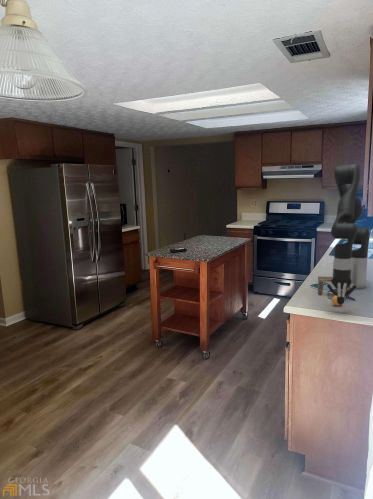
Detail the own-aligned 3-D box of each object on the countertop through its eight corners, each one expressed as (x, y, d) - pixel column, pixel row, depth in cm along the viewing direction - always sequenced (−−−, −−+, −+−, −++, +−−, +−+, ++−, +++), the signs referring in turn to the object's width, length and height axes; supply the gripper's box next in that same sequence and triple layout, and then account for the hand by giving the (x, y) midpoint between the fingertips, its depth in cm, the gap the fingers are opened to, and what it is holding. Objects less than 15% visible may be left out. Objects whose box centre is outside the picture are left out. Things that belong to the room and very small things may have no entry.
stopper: (317, 280, 217) (318, 276, 216) (333, 280, 215) (334, 276, 214) (318, 281, 215) (318, 277, 215) (334, 281, 213) (334, 277, 212)
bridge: (318, 293, 193) (318, 277, 192) (346, 294, 190) (346, 278, 188) (318, 295, 190) (319, 279, 189) (347, 296, 187) (348, 280, 185)
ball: (330, 303, 178) (331, 293, 177) (341, 303, 177) (342, 294, 176) (332, 306, 173) (332, 296, 172) (343, 307, 172) (344, 297, 171)
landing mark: (316, 283, 211) (316, 283, 211) (338, 284, 208) (338, 284, 208) (318, 289, 199) (318, 289, 199) (342, 290, 196) (342, 290, 196)
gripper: (356, 265, 164) (354, 302, 167) (325, 265, 167) (323, 300, 170) (360, 269, 157) (357, 307, 160) (327, 268, 160) (325, 306, 163)
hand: (340, 304), depth 165 cm, fingers closed
